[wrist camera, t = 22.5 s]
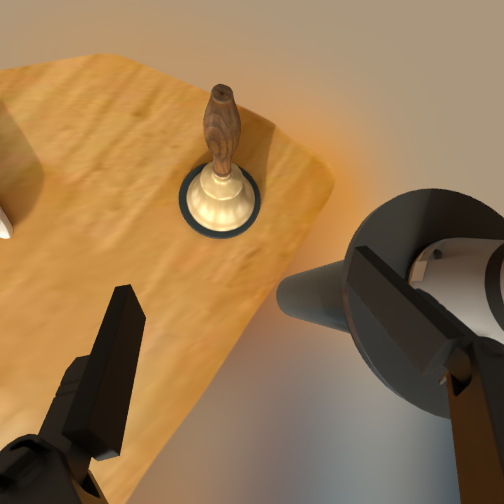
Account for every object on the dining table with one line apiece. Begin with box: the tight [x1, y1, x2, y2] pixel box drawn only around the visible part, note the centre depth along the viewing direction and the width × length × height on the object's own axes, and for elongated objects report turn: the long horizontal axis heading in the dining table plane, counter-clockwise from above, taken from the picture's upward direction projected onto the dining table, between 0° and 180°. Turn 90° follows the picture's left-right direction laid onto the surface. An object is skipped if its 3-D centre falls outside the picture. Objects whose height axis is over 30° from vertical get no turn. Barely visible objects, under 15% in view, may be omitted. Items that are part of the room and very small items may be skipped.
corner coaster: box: [179, 162, 260, 239], centre depth 30 cm, size 10×10×1 cm
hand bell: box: [187, 84, 255, 231], centre depth 22 cm, size 8×8×16 cm
